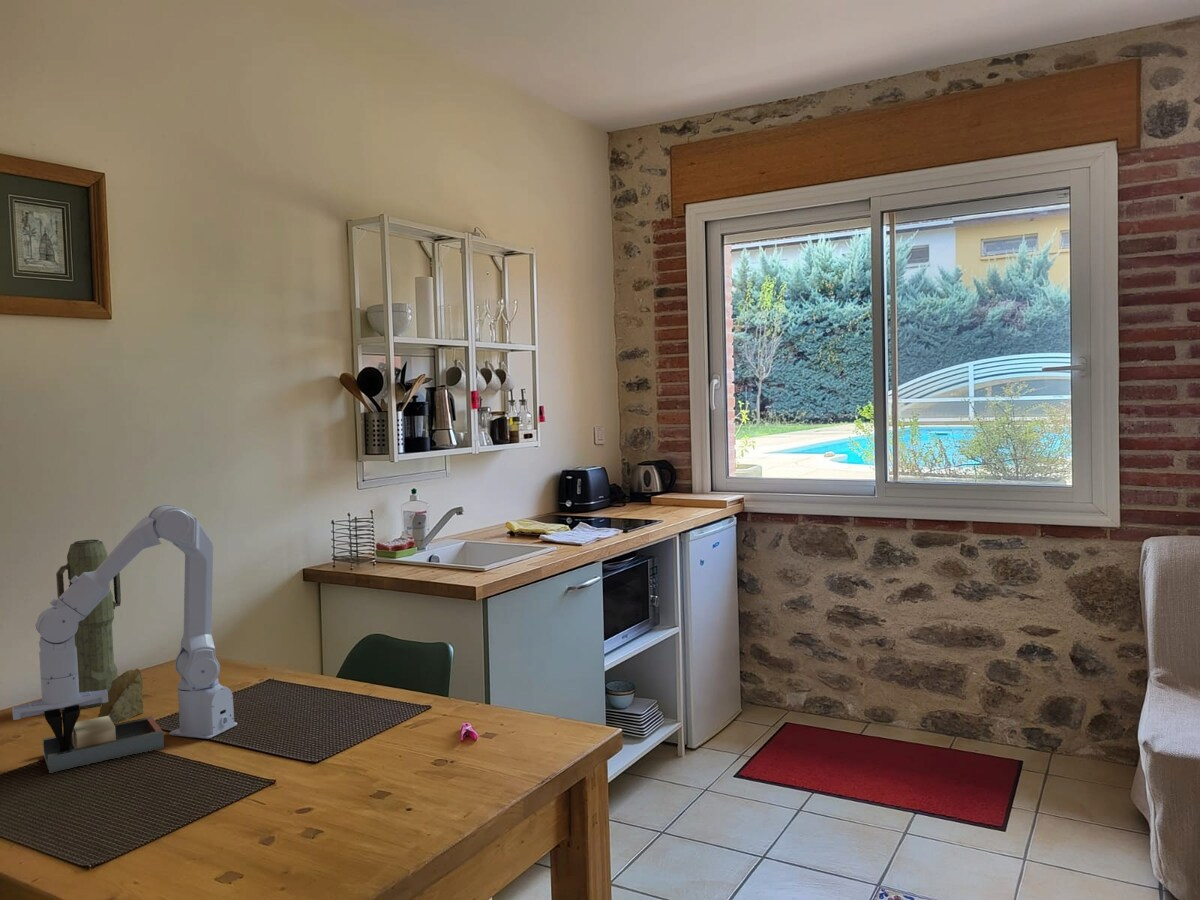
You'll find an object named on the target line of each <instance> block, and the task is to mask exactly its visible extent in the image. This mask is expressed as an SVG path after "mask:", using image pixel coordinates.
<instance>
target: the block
mask: <svg viewBox="0 0 1200 900" xmlns="http://www.w3.org/2000/svg"><path fill="white" fill-rule="evenodd" d="M72 739H73V746H74V749H77V748H82V747H87V746H91V745H96V744H101V743H105V742H110V741H115V740H116V731H115V726H114V724H113V722H112V720H111V719H110V717H109V716H104V717H99V718H97V717H96V718H95V717H94V718H89V719H84V720H80V721H77V722H76V724H75V726H74V729H73V732H72Z"/></svg>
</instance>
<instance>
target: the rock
mask: <svg viewBox="0 0 1200 900" xmlns="http://www.w3.org/2000/svg"><path fill="white" fill-rule="evenodd" d="M142 676H143V675H142V672H141V671H140V669H139V668H136V669H129V670H126V671H125V672H123V673H122V674H120V675H118V678H116V679H115V680H113V681H112V683H111V688H110V691H109V692H108V702H106V703H103V704H102V706H100V710H99V713H98V715H97V717H96V718H99V717H104V716H109V717H110V719H111V720H112V722H113V724H115V723H116V724H117V722H118V723H120V722H119V721H121V722H123V721H126V720H125V719H127V720H129V719H131V718H130V717H132V718H133V716H134V717H136V716H139V715H141V714H142V713H144V701H143V697H142V696H143V689H144V688H143V681H144V680H143V677H142ZM128 718H129V719H128ZM122 720H123V721H122Z"/></svg>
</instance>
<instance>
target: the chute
mask: <svg viewBox="0 0 1200 900" xmlns="http://www.w3.org/2000/svg"><path fill="white" fill-rule="evenodd" d="M114 726H115V731H116V740H115V741H110V742H105V743H101V744H96V745H91V746H87V747H82V748H77V749H74V746H73V739H72V735H71V739H70V745H69V750H68V751H63V752H60V751H59V746H58V742H57V739H56V736H55V735H54V736H49V737H45V738H42V751H43V758H44V760H45V764H46V767H47V770H49V771H48V774H49V773H51V772H56V771H60V770H65V769H69V768H73V767H77V766H82V765H85V764H90V763H94V762H100V761H103V760H108V759H113V758H117V757H121V756H127V755H132V754H136V755H138V754H137V753H141V754H143V753H142V752H145V753H149V752H154V751H158V750H162V749H165V739H164V738H165V737H164V731H163V730H162V728H161V727H160V726H159V724H158V723H157V722H156V720H155V719H154V717H153V716H147V717H143V718H137V719H133V720H129V721H127V720H126V721H121V722H118V723H116V724H114ZM153 750H154V751H153ZM148 751H149V752H148ZM132 756H133V755H132ZM127 757H128V756H127ZM65 771H66V770H65ZM56 773H57V772H56Z"/></svg>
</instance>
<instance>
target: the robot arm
mask: <svg viewBox="0 0 1200 900" xmlns="http://www.w3.org/2000/svg"><path fill="white" fill-rule="evenodd" d="M160 538H161V539H164V540H165V541H166V542H167V541H168V542H170V543H172V545H174V546H175V547H176V548H177V549H179V550H180V551H181V552H182V553H183V554H184V597H183V598H184V599H183V603H184V604H183V635H182V638H181V641H180V648H179V649H180V650H179V652H178V654H177V656H176V658H175V661H174V667H175V670H176V672H177V674H178V675H179V676H180V677H181V678H180V680H179V682H178V684H177V699H178V700H177V701H178V715H179V716H178V719H179V727H178V728H176V729H174V730H171V731H170V732H169V733H168V735H169V736H175V737H185V738H196V739H207V740H209V739H212V738H213V737H216V736H218V735H220V734H221V733H224V732H226V731H228V730H230V729H232V728H234V727H236V726H237V725H238V722H236V721H235V710H234V695H233V692H232V690H231V688H229V687H227V686H223V685H222V684H220V682H219V681H220V680H219V678H218V677H219V675H220V671H221V664H220V662H219V661H218V659H217V657H216V646H215V643H214V639H213V635H212V633H213V631H212V629H213V627H212V625H213V584H214V583H213V582H214V581H213V580H214V579H213V578H214V575H213V574H214V572H213V571H214V570H213V569H214V544H213V541H212V540H211V539H210V537H209V535H208V534H207V533H206V531H205V530H204V528H203V526H202V525H201V524H200V522H199V520H198V518H197V517H196V516H194V514H191V513H190V512H188V511H187V510H186V509H183V508H182V507H181V508H180V507H176V506H174V505H171V504H162V505H158V506H156V507H155V508H153V509H152V510H151V511H150V513H149V514H148V516H146V515H145V516H144V517H143V518H142V519H141V520H139V522H138V523H137V524H136V525H135V526H134V527H132V529H131V530H130V531H129V532H128V533H126V536H124V537H123V538H122V540H121V541H119V543H118V544H117V545H116V547H115V548H114V549H112V551H110V553H109V554H108V555H107V558H106V559H105V560H104V561H103V562H102V563H101V564H100V566H99V567H98V568H97V569H96V570H95V571H91V572H84V573H82V574H81V575H80V576H79V577H77V576H74V577H73V578H72V579H71V580H70V581H71V582H72V584H71V586H70V587H69V586H68V587H67V588H66V589H65V590H64V593H63V594H62V595H61V596H60V597H59V598H58V597H57V598H53V599H52V600H51V601H50V605H51V606H50V607H47V608H45V609H44V610H43V611H42V612H40V613H39V615H38V617H37V620H36V623H35V625H34V626H35V628H36V629H35V630H36V631H37V632H38V634H39V636H40V637H39V641H38V644H39V649H40V650H39V652H38V653H39V655H38V656H39V670H40V671H39V672H40V686H41V688H40V689H41V699H39V700H35V701H32V702H27V703H24V704H20V705H15V706H11V708H12V709H11V711H12V712H11V713H12V720H13V721H17V720H18V721H19V720H21V719H23V718H28V717H32V716H38V715H44V718H45V721H46V722H47V725H48V726H49V727H50V728H51V729H50V730H52V732H53V734H54V736H56V739H57V742H58V746H59V751H60V752H63V751H68V750H69V745H70V739H71V735H72V732H73V729H74V726H75V724H76V722H78V719H79V717H80V715H81V708H79V707H80V706H85V705H91V704H96V703H106V702H108V692H107V690H100V691H92V692H82V693H79V679H78V662H77V647H76V646H75V634H76V632H77V630H78V622H79V621H81V620H84V619H85V618H86V617H87V616H88V615H89V614H90V612H91V611H92V610H93V609H94V608H95V607H96V606H97V605H98V604H99V603H100V602H101V601H102V600H103V599H104V598H105V597H106V595H107V594H108V593H109V592H110V590H111V587H110V583H111V581H113V578H114V577H115V576H116V575H117V574H118V573H120V572H121V571H122V570H123V569H125V567H127V566H128V565H129V563H130V562H131V561H133V560H134V558H136V557H137V555H139V554H140V553H141V552H142V551H143V550H145V549H147V548H151V547H155V546H156V547H157V546H159V545H162V542H161V540H160Z"/></svg>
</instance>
